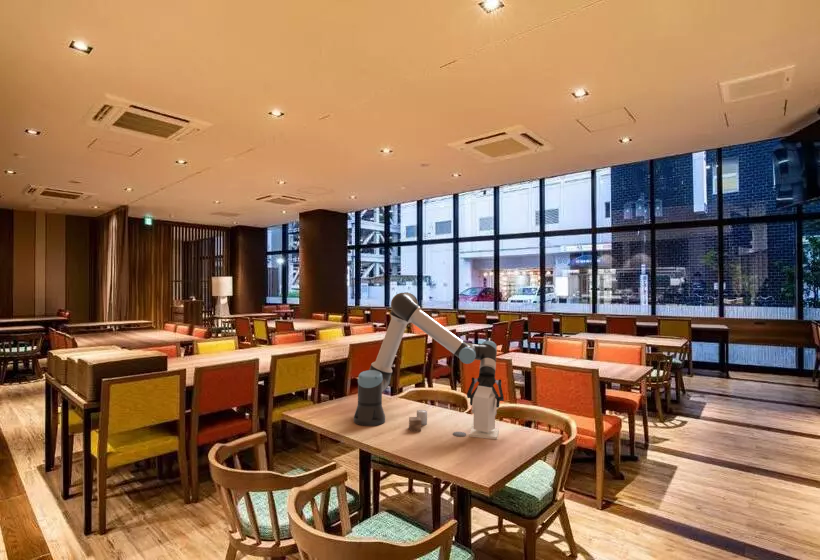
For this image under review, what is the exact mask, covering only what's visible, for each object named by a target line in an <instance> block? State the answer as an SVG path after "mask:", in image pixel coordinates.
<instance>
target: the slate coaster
mask: <svg viewBox="0 0 820 560" xmlns="http://www.w3.org/2000/svg"><path fill="white" fill-rule="evenodd" d="M452 435H453V436H454V437H456V438H457V437H458V438H464V437H467V433H466V432H463V431H454V432H452Z"/></svg>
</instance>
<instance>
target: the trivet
mask: <svg viewBox="0 0 820 560" xmlns="http://www.w3.org/2000/svg"><path fill="white" fill-rule="evenodd" d="M473 427H474V425H472V426H471V429H470V431H469V437H470V438H471V437H472V438H479V439H490V440H498V438H499V432H500V429H499V428H496V427H495V429H493V430H491V431H490V432H488V433H487V432H483V431H479V430H475V429H473Z"/></svg>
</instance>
